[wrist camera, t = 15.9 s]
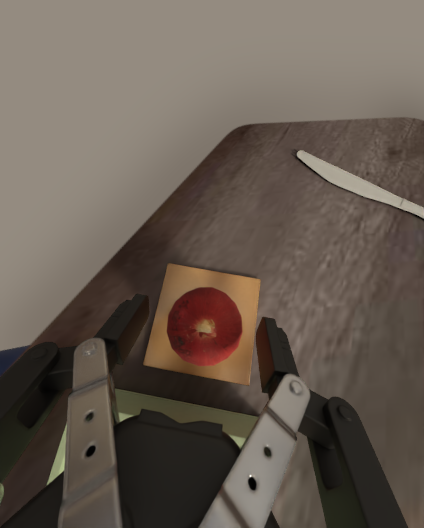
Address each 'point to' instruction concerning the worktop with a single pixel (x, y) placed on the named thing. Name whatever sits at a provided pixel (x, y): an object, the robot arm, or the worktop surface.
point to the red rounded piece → (204, 326)
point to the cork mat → (186, 280)
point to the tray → (177, 410)
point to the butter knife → (357, 184)
